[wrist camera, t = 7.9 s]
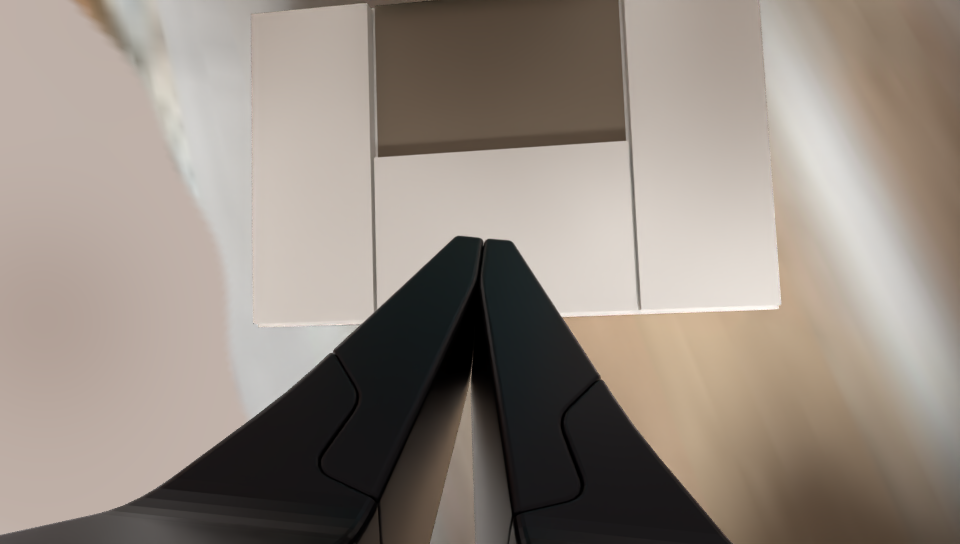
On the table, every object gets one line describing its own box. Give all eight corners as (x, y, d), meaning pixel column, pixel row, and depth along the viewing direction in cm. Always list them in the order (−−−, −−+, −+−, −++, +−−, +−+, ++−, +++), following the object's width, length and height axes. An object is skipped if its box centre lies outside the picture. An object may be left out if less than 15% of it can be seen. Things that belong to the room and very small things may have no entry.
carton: (744, 310, 19) (785, 308, 16) (297, 326, 21) (246, 327, 17) (724, 23, 20) (760, -40, 16) (294, 60, 21) (244, 11, 18)
